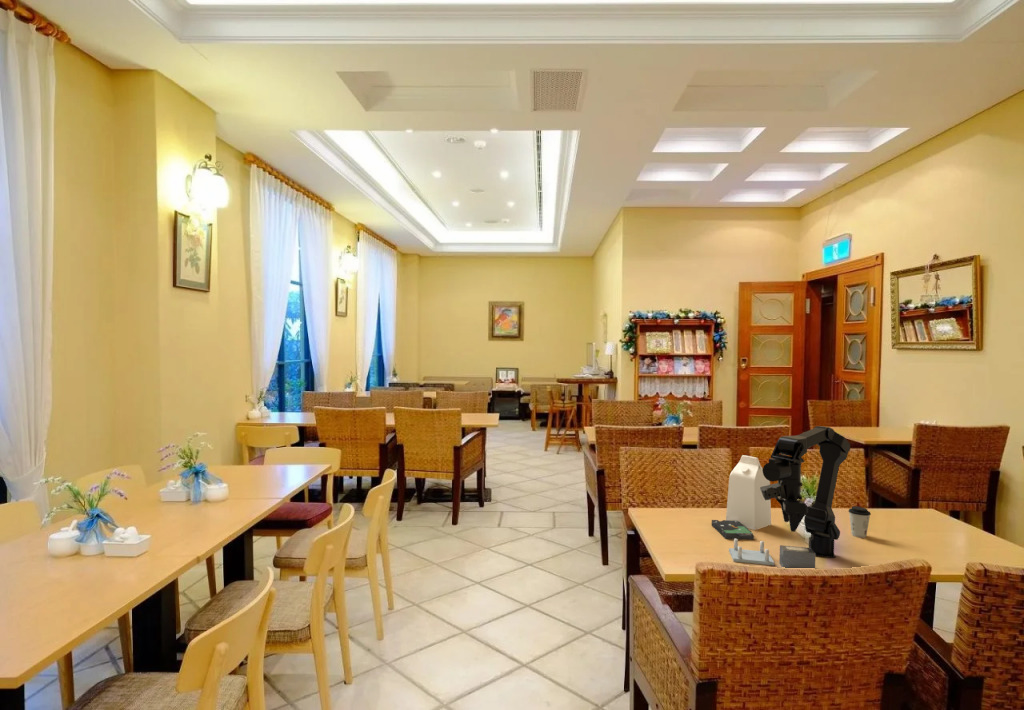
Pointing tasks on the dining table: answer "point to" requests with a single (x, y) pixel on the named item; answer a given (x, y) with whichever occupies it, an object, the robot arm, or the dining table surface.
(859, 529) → the coffee cup
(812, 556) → the block
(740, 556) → the tray
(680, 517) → the dining table surface
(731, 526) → the disk drive
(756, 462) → the milk
